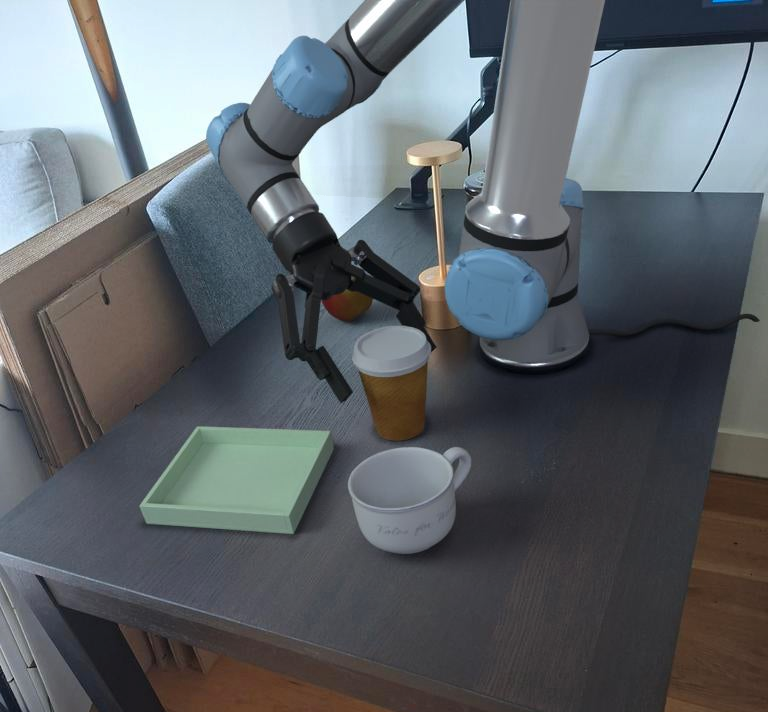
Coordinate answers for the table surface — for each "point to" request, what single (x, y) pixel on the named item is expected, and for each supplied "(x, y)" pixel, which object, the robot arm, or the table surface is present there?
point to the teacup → (407, 496)
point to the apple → (347, 305)
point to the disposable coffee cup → (394, 379)
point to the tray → (240, 479)
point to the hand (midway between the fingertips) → (390, 374)
